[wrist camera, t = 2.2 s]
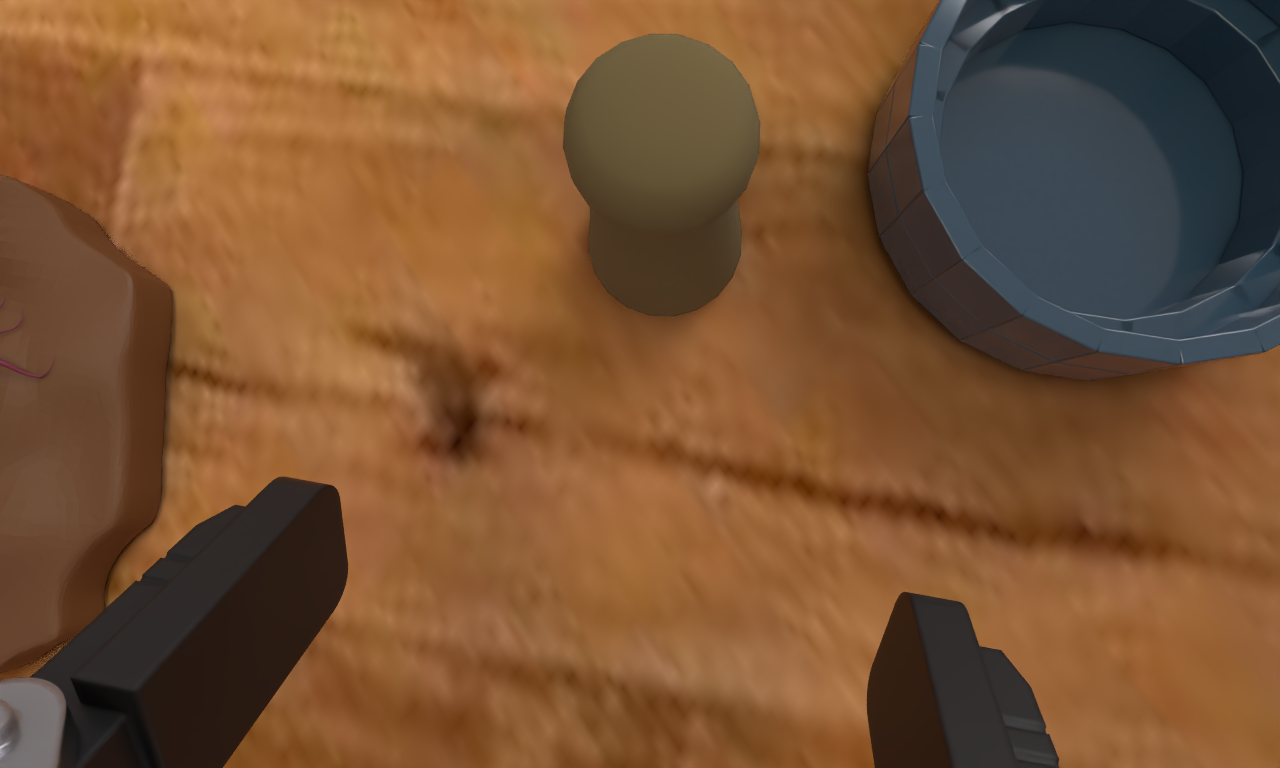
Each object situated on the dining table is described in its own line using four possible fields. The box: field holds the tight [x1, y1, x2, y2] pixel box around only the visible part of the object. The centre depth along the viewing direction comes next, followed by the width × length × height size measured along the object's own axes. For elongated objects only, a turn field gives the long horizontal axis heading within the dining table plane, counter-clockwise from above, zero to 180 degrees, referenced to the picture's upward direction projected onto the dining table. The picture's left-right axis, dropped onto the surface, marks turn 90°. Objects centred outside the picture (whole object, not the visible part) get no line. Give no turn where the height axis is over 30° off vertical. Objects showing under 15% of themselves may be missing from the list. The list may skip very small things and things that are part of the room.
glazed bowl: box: [868, 0, 1280, 381], centre depth 25 cm, size 16×16×6 cm
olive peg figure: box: [563, 34, 760, 316], centre depth 23 cm, size 6×6×11 cm
